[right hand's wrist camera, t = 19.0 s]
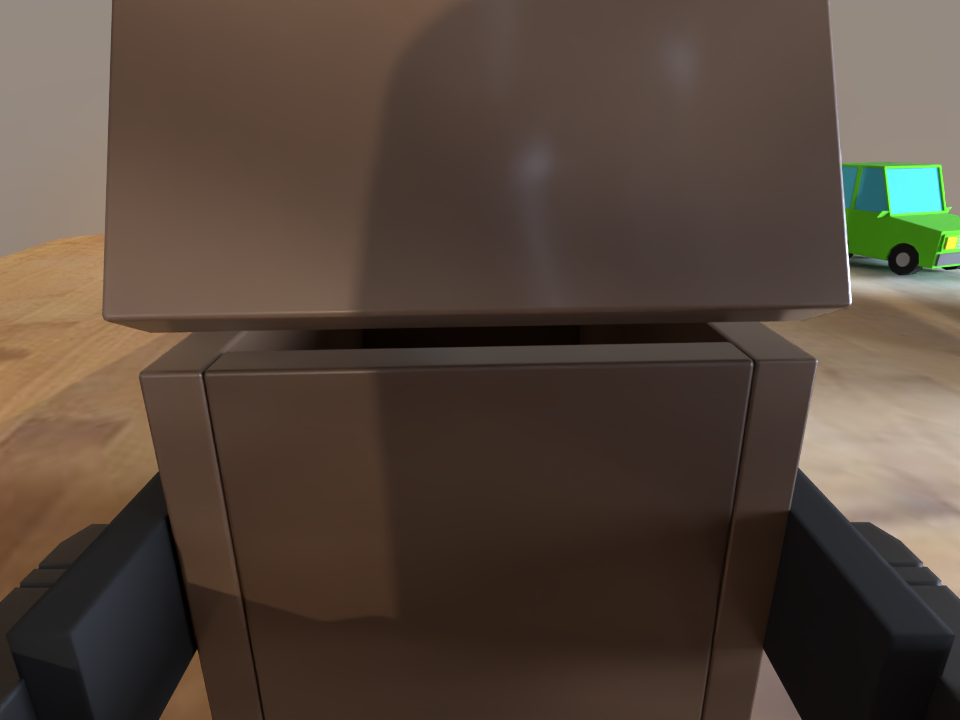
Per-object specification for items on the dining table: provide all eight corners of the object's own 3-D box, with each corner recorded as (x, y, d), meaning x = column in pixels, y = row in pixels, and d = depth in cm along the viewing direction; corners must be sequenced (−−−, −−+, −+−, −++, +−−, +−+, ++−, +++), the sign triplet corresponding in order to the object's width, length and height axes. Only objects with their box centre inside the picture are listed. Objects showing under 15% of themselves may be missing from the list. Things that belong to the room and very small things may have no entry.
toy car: (924, 283, 58) (952, 170, 55) (806, 257, 70) (823, 163, 66) (995, 274, 61) (1026, 168, 58) (872, 251, 73) (892, 162, 70)
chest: (356, 485, 25) (332, 225, 22) (590, 480, 25) (605, 221, 22) (243, 870, 12) (135, 373, 9) (726, 852, 12) (819, 359, 9)
